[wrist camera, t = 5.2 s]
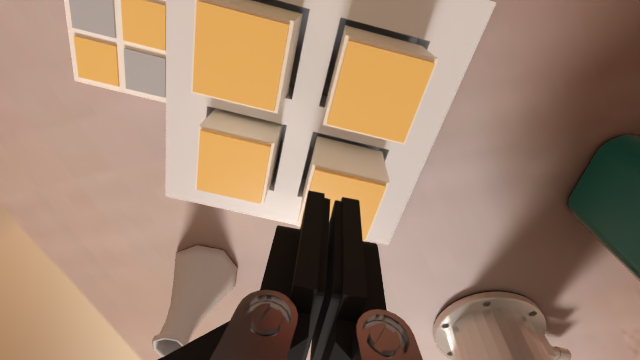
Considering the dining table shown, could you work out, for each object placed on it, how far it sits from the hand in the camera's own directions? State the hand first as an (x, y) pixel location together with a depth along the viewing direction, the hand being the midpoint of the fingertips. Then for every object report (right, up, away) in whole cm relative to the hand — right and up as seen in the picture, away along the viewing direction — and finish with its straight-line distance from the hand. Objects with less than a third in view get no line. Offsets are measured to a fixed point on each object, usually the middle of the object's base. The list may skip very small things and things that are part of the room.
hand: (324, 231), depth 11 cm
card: (-16, +13, +16) cm, 25 cm away
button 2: (+2, +2, +16) cm, 17 cm away
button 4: (-6, +5, +17) cm, 19 cm away
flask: (-13, -8, +28) cm, 32 cm away
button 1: (+3, +9, +12) cm, 16 cm away
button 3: (-4, +11, +12) cm, 17 cm away
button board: (-1, +8, +17) cm, 19 cm away
